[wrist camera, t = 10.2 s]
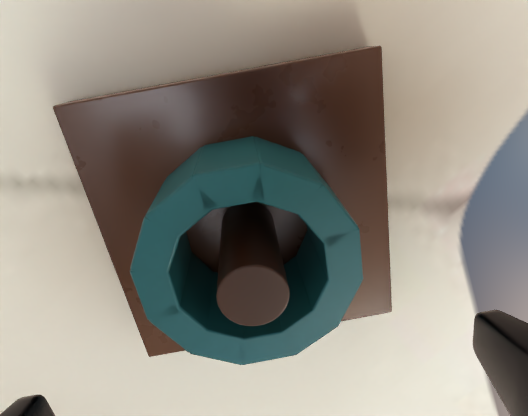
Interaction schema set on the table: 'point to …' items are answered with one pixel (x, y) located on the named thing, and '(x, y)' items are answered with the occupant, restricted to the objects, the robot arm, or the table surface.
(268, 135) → the peg stand
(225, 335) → the tape roll
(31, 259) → the table surface
